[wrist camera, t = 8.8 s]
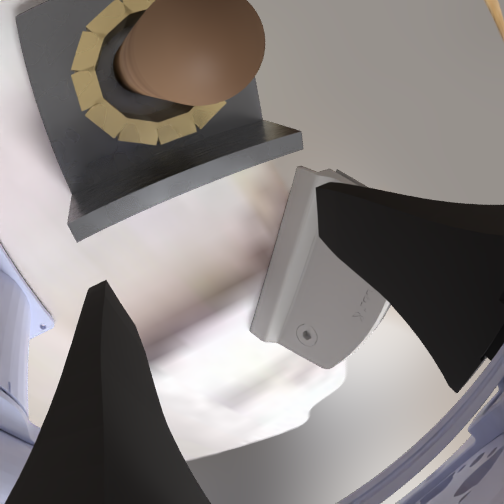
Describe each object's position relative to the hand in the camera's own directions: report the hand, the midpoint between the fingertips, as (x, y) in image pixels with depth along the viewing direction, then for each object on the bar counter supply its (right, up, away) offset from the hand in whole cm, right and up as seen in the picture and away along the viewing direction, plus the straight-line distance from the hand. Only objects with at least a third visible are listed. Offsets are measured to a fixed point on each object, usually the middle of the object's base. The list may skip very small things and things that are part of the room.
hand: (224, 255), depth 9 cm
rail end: (-5, +10, +3) cm, 11 cm away
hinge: (+6, 0, +18) cm, 19 cm away
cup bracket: (-5, +10, +4) cm, 12 cm away
